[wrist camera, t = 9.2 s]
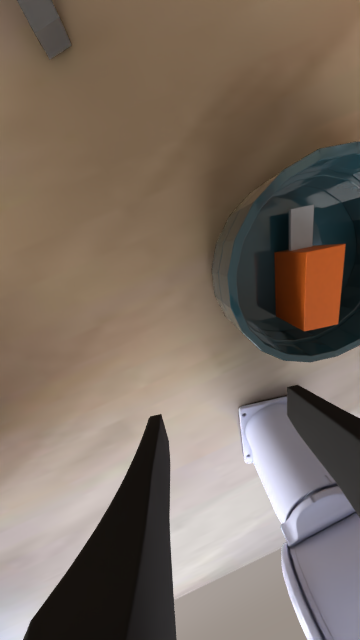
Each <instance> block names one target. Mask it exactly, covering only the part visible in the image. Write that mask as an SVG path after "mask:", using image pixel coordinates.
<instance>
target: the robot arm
mask: <svg viewBox="0 0 360 640" xmlns="http://www.w3.org/2000/svg"><path fill="white" fill-rule="evenodd" d="M243 413H244V414H243ZM239 418H240V427H241V436H242V445H243V454H244V460H245V463H254V465H255V467H256V470H257V472H258V474H259V477H260V479H261V481H262V483H263V486H264V488H265V490H266V493H267V495H268V497H269V499H270V502H271V504H272V506H273V509H274V511H275V513H276V515H277V517H278V519H279V520H280V522H281V523H282V524H281V525H280V527H281V530H282V532H283V534H284V537H285V539H286V541H287V542H285V543H284V544H283V545H282V548H281V555H282V571H283V575H284V579H285V583H286V586H287V589H288V593H289V596H290V599H291V601H292V604H293V607H294V609H295V612H296V614H297V617H298V619H299V622H300V624H301V626H302V629H303V631H304V633H305V635H306V638H307V639H308V640H360V418H358V417H356V416H354V415H352V414H350V413H348V412H346V411H344V410H342V409H340V408H339V407H337V406H335V405H333V404H331V403H329V402H328V401H326V400H324V399H322V398H320V397H319V396H317V395H315V394H313V393H312V392H310V391H308V390H306V389H304V388H302V387H301V386H299V385H295V386H290V387H287V396H286V397H281V398H277V399H272V400H268V401H263V402H259V403H254V404H250V405H245V406H241V407H240V408H239ZM169 509H170V452H169V440H168V437H167V433H166V430H165V426H164V423H163V419H162V415H161V414H160V415H155V416H150V418H149V420H148V423H147V426H146V429H145V431H144V434H143V437H142V439H141V442H140V444H139V447H138V449H137V452H136V454H135V456H134V459H133V461H132V463H131V465H130V467H129V469H128V471H127V474H126V476H125V478H124V480H123V482H122V484H121V486H120V488H119V489H118V491H117V493H116V495H115V497H114V499H113V500H112V502H111V504H110V506H109V507H108V509H107V511H106V512H105V514H104V516H103V517H102V519H101V521H100V523H99V524H98V526H97V527H96V529H95V531H94V532H93V534H92V535H91V537H90V538H89V540H88V541H87V543H86V544H85V546H84V547H83V549H82V550H81V552H80V553H79V555H78V556H77V558H76V559H75V561H74V562H73V564H72V565H71V567H70V568H69V570H68V571H67V572H66V574H65V575H64V577H63V578H62V579H61V581H60V582H59V583H58V585H57V586H56V587H55V589H54V590H53V592H52V593H51V594H50V596H49V597H48V598H47V600H46V601H45V602H44V604H43V605H42V607H41V608H40V609H39V611H38V612H37V613H36V615H35V616H34V617H33V619H32V620H31V622H30V624H29V627H28V629H27V632H26V634H25V636H24V639H23V640H176V626H175V614H174V613H175V611H174V597H173V581H172V564H171V546H170V523H169Z"/></svg>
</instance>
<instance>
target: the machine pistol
mask: <svg viewBox="0 0 360 640" xmlns="http://www.w3.org/2000/svg"><path fill="white" fill-rule="evenodd" d="M17 1H18V3H19V5H20V7H21V9H22V11H23V13H24V14H25V16H26V18H27V20H28V22H29V24H30V26H31V28H32V30H33V31H34V33H35V35H36V37H37V38H38V40H39V42H40V44H41V45H42V47H43V49H44V50H45V52H46V54H47V56H48V57H49V59H51V58H53V57H54V56H56V55H57V54H59V53H60V52H62V51H64V50H65V49H67V48H68V47H70V46H71V42H70V40H69V38H68V36H67V33H66V31H65V29H64V26H63V24H62V22H61V19H60V17H59V15H58V13H57V11H56V9H55V7H54V5H53V2H52V0H17Z"/></svg>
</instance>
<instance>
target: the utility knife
mask: <svg viewBox="0 0 360 640" xmlns="http://www.w3.org/2000/svg"><path fill="white" fill-rule="evenodd" d="M313 215H314V205H309V206H304V207H299V208H294V209H290V210H289V250H284V251H279V252H275V253H274V258H275V299H276V316H277V317H278V318H280V319H282V320H284V321H286V322H288V323H289V324H291V325H293V326H295V327H297V328H299V329H300V330H302V331H309V330H314V329H318V328H323V327H327V326H332V325H337V324H338V321H339V310H340V299H341V289H342V278H343V267H344V257H345V246H346V244H334V245H316V246H312V241H313Z"/></svg>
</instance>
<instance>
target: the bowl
mask: <svg viewBox="0 0 360 640" xmlns="http://www.w3.org/2000/svg"><path fill="white" fill-rule="evenodd" d="M309 205H314V215H313V241H312V246H316V245H334V244H346V246H345V257H344V267H343V278H342V289H341V299H340V310H339V321H338V324H337V325H332V326H327V327H323V328H318V329H314V330H309V331H302V330H300V329H299V328H297V327H295V326H293V325H291V324H289V323H288V322H286V321H284V320H282V319H280V318H278V317H277V316H276V299H275V258H274V253H275V252H279V251H284V250H289V210H290V209H294V208H299V207H304V206H309ZM212 277H213V285H214V293H215V297H216V299H217V301H218V303H219V305H220V307H221V309H222V311H223V313H224V315H225V316H226V317H227V318H228V319H229V320H230V321H231V322H232V323H233V324H234V325H235V326H236V327H237V328H238V329H239V330H240V331H241V332H242V333H243V334H244V335H245V336H246V337H247V338H248V339H249V340H250V341H251V342H252V343H253V344H254V345H255V346H256V347H258V348H259V349H260V350H261V351H262V352H265V353H267V354H270V355H272V356H274V357H277V358H279V359H282V360H285V361H297V362H314V361H318V360H323V359H328V358H332V357H336V356H339V355H341V354H343V353H345V352H347V351H349V350H351V349H353V348H355V347H357V346H359V345H360V142H359V141H358V142H357V141H355V142H350V143H345V144H340V145H335V146H330V147H325V148H320V149H317V150H316V151H314V152H312V153H311V154H309V155H307V156H306V157H304V158H302V159H301V160H299V161H297V162H296V163H294V164H292V165H291V166H289V167H287V168H286V169H284V170H282V171H281V172H279V173H278V174H277V175H275V176H274V177H272V178H271V179H269V180H268V181H267V182H265V183H264V184H262V185H261V186H259V187H258V188H257V189H255V190H254V191H252V192H251V193H250V194H249V195H248V196H247V197H246V198H245V199H244V200H243V201H242V202H241V204H240V205H239V206H238V207H237V208H236V209H235V210H234V211H233V212H232V214H231V215H230V216H229V218H228V220H227V222H226V224H225V226H224V228H223V230H222V232H221V234H220V236H219V238H218V241H217V243H216V247H215V253H214V259H213V265H212Z"/></svg>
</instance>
